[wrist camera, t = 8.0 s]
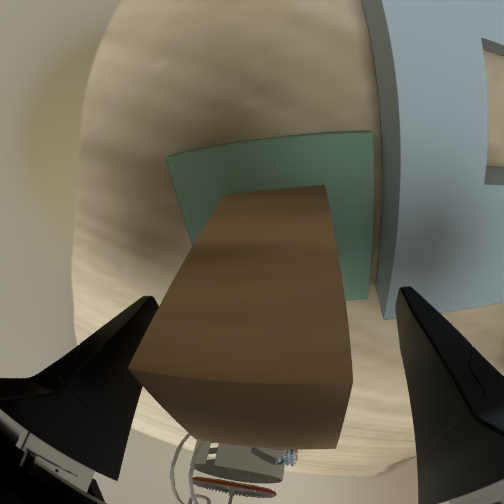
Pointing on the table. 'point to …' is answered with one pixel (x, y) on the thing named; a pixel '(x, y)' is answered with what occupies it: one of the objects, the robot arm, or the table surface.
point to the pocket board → (437, 152)
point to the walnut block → (255, 327)
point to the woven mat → (288, 457)
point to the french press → (232, 469)
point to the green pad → (290, 186)
